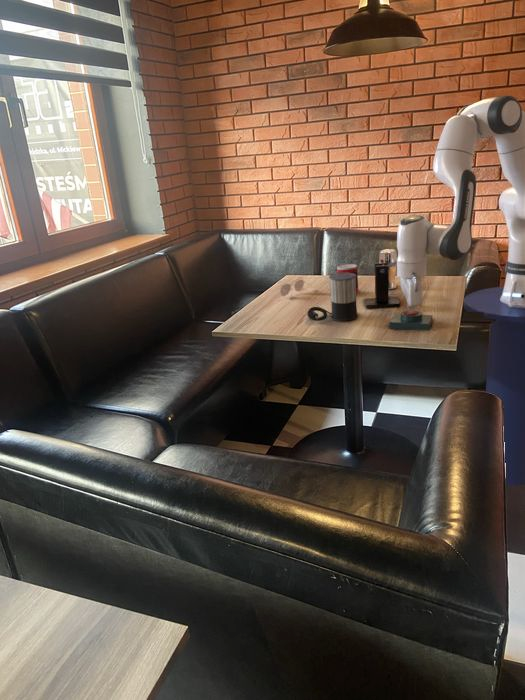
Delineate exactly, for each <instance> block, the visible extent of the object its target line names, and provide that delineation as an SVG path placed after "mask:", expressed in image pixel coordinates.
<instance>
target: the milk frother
mask: <svg viewBox="0 0 525 700" xmlns="http://www.w3.org/2000/svg"><path fill="white" fill-rule="evenodd" d="M355 277H356V274H353V273H333V274H331V275H329V276H328V279H329V288H330V301H331V302H330V303H331V312H329V311H328V310H326V309H325V308H323V307H320V306H312V307H310V308H309V309H308V310H307V313H306V316H307V318H308V319H309V320H312V321H314V322H315V321H316V322H318V321H324V320H325V319H327V317H328V314H329V315H331V317H330V318H331V319H332V320H335V321H341V322H345V321H353V320H355V319H356V318H358V316H359V315H358V309H357V294H356V279H355ZM316 311H317V312H321V313H322V314H323V315H322V316H320V317H319V313H317V312H316Z"/></svg>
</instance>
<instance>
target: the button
mask: <svg viewBox="0 0 525 700" xmlns="http://www.w3.org/2000/svg"><path fill="white" fill-rule="evenodd" d="M406 311H407V312H406V315H417V312H416V311H417V310H416V311H415V312H414V313H413V314H410V313H409V312H408V310H406Z"/></svg>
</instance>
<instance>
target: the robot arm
mask: <svg viewBox="0 0 525 700" xmlns="http://www.w3.org/2000/svg"><path fill="white" fill-rule="evenodd" d="M491 137H492V138H493V139H494V140H495V146H496V150H497V155H498V158H499V162H500V166H501V170H502V175H503V177H504V178H505V179H506V180H507V181H508V182H509V183H510V185H511V187H508V188H506V189H504V190H503V192H501V194H500V196H499V198H498V207H499V210H500V212H501V213H502V214H503V218H504V220H505V224H506V228H507V234H508V249H507V250H508V252H507V260H506V262H505V263H506V264H505V271H504V273H505V281H504V285H503V287H504V289H503V293H502V295H501V298H500V301H501V302H503V303H505V304H507V305H508V306H509V307H513V308H525V111H524V110H523V109H522V106H521V103H520V101H519V100H518V99H517V98H516V97H515V96H513V95H506V94H505V95H504V94H503V95H498V96H495V97H488V98H484V99H481V100H480V101H477V102H474V103H470V104H467V105H465V106H463V107H462V108H461V109H460V110H458V112H457V113H456V115H454V116H451V117H450V118H449V119H448V120H447V121H446V122H445V125H444V127H443V129H442V132H441V134H440V137H439V139H438V143H437V146H436V149H435V154H434V157H433V163H432V171H433V174H434V176H435V178H436V179H437V180H438V181H439V182H441V183H442V184H444V185H445V186H447V187H448V188H450V189H451V190H452V192H453V193H454V205H453V212H452V220H451V223H450V224H440V223H434V222H431V221H430V220H427V219H426V217H425V216H423V215H418V214H417V215H410V216H409V215H408V216H406V217H404V218H402V219H401V220H400V221H399V224H398V226H397V227H398V228H397V235H396V250H397V268H396V276H397V277H398V278H399V280H400V281H399V282H400V289H401V292H402V293H403V296H404V297H405V300H406V307H407V309H406V311H408V312H409V313H410V314H413V313H414V312H415V310H416V309H415V308H417V307H421V306H422V304H423V289H422V288H423V287H422V280H423V278H424V277H426V276H427V255H428V256H433V257H440V258H444V259H447V260H450V261H458V260H460V259H462V258H463V257H465V256H466V255H467V254H468V253H469V251H470V250H471V247H472V244H473V234H472V232H473V231H472V225H473V217H474V210H475V201H476V193H477V178H476V177H477V176H476V174H475V172H473V165H472V164H473V158H474V154H475V149H476V146H477V145H476V144H477V142H478V141H479V140H482V139H483V140H484V139H489V138H491Z"/></svg>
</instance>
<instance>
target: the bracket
mask: <svg viewBox="0 0 525 700" xmlns="http://www.w3.org/2000/svg"><path fill="white" fill-rule="evenodd" d="M383 264H384V265H383ZM389 290H390V289H389V271H388V265H387V263H379V262H375V263H374V297H367V298H364V303H365V305H364V306H365V308H366V309H380V308H398V307H399V308H400V307H401V302H400V301H399V298H398V296H389V295H390V293H389V292H390V291H389Z"/></svg>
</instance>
